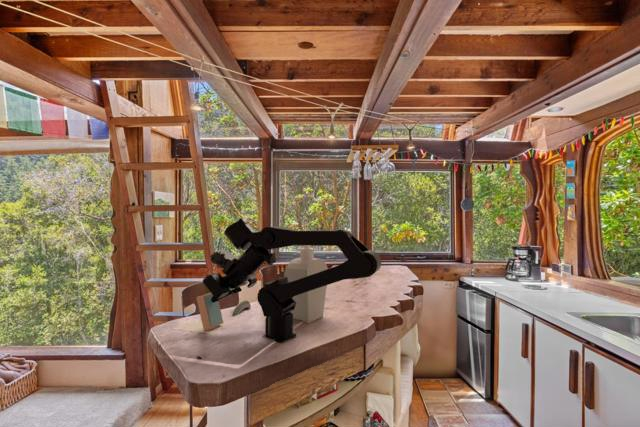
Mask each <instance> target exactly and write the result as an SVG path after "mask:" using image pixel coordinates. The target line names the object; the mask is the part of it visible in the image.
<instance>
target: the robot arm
mask: <svg viewBox="0 0 640 427" xmlns="http://www.w3.org/2000/svg"><path fill="white" fill-rule="evenodd" d="M223 231H224V232H223V235H225V237H226V238H227V239H228V240H229V241H230V242H231V244H232V245H233V246H234V247H235V248H234V249H236V250H237V251H238V250H239V251H240V250H242V251H244V252H243V253H242V254H241V255H240V256H239V257H237V256H236V255H234V254H233V253H231V252H229V251H227V250H225V249H221V250H215V251H214V252H213V253H212V254H211V255H210V261H211V263H212V264H214V265H216V266H218V267H220V268H221V272H222V274H224V275H223V276H222V275H221V273H220V272H219V273H218V272H217V273H216V272H215V273H210V274H206V275H205V277H204V278H203V279H202V283H203V284H204V285H205V287H206V288H207V289H208V291H209V293H212V295H213V296H212V299H211V301H212V302H213V303H214V302H217V301H222V300H223V299H226V298H228V297H231V296H233V295H235V294H238V293H240V292H242V290H243V289H242V288H241V287H242V286H243V287H244V286H246V287H247V288H248V289H251V288H253V287H254V286H255V285H257V282H258V277H257V276H256V275H257V274H259V272H258V270H259V269H260V268H261V267H262V266H263V265H264V264H265V263H267V264H268V265H273V264H275V263H277V258H276V255H277V254H276V253H275V252H271V251H270V250H275V249H280V248H287V247H291V246H304V245H310V246H336V247H338V248H339V249H340V251H341V252H342V254H343V255H344V256H345V258H346V259H347V260H345V261H344V262H341V263H340V264H338V265H334V266H332V267H330V268H328V269H326V270H323V271H320V272H318V273H315V274H312V275H309V276H306V277H303V278H300V279H298V280H294V281H288V278H287V276H286V277H280V278H277V279H275V280H272V281H268V282H266V283H263V287H261V288H260V289H259V290H258V293H257V296H256V297H257V302H258V305H260V308H261V311H262V314H263V317H265V320H264V322H265V325H264V326H265V334H264V335H262V338H265V339H270V340H273V341H274V342H277V343H284V342H286V341H288V340H291V339H294V338H296V337H297V333H294V319H293V313H291V311H293V310H294V309H295V306H296V302H295V301H294V300H293V298H292V297H294V296H296V295H299V294H302V293H305V292H308V291H311V290H314V289H317V288H320V287H323V286H326V285H327V286H328V285H332V284H335V283H337V282H341V281H343V280H355V279H363V278H369V277H371V276H373V275H374V274H376V273H377V272H378V271H379V270H380V268H381V267H382V259H381V258H382V257H381V256H380V254H379V253H378V252H376V251H374V250H372V249H369V248H368V247H367V246H366V245H365V244H364V243H362V242H361V241H360V240H359V239H357V237H355V236H354V235H353V233H352V232H351V231H350V230H348V229H337V230H334V229H332V230H330V229H329V230H323V229H321V230H319V229H317V230H315V229H314V230H312V229H311V230H297V229H293V228H290V227H285V226H284V227H283V226H279V225H277V226H266V227H263V228H262V229H261V230H260V231H255V229H254V228H253V227H252V226H251V225H250V224H249V222H248V221H247V219H246V218H245V217H244V218H243V217H241V218H239V219H238V220H237V221H235V222H233V223H232V224H231V225H228V226H227V227H226V228H225V229H224V230H223Z"/></svg>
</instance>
